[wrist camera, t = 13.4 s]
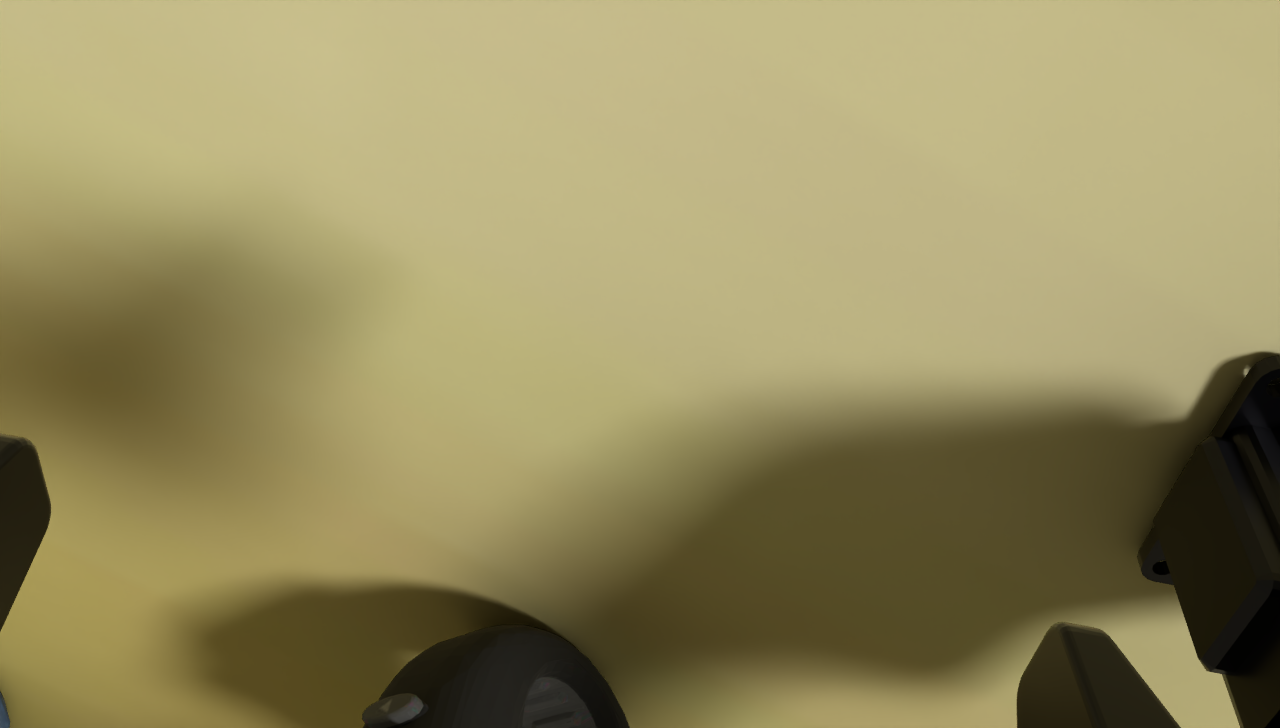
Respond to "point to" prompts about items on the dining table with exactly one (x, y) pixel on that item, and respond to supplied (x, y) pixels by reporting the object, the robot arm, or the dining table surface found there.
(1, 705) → the bottle
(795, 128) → the dining table surface
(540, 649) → the controller
